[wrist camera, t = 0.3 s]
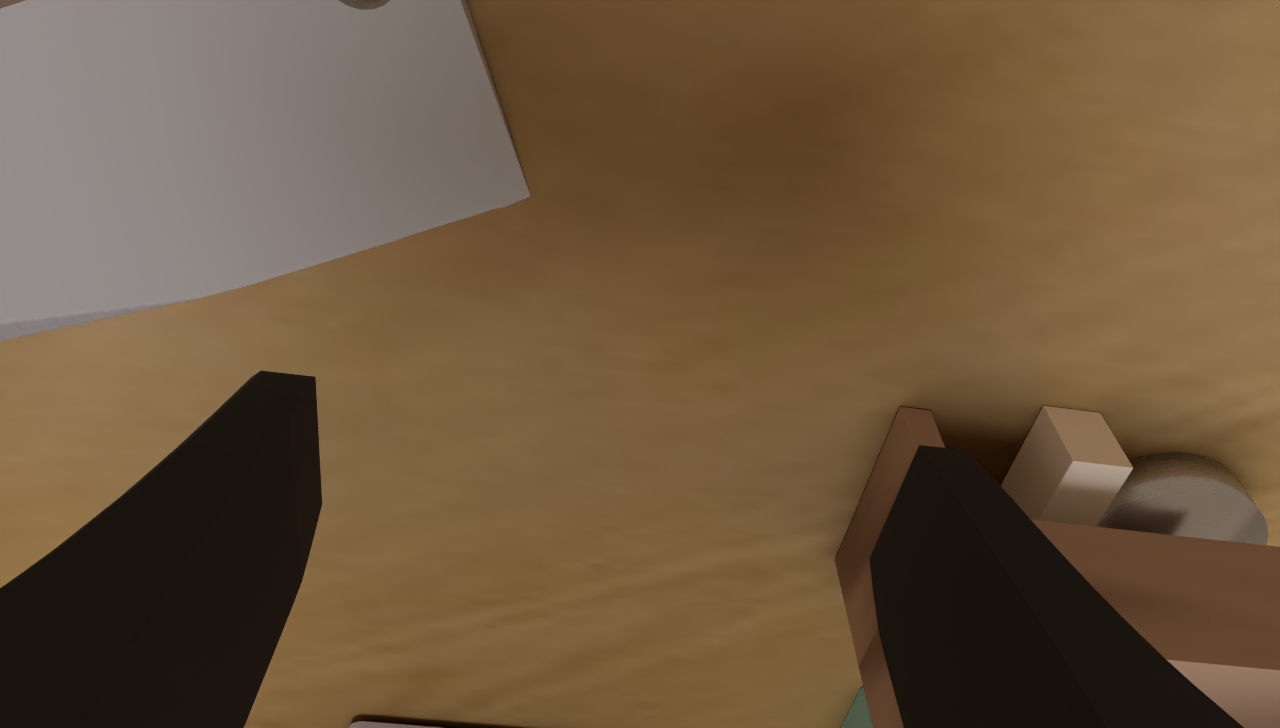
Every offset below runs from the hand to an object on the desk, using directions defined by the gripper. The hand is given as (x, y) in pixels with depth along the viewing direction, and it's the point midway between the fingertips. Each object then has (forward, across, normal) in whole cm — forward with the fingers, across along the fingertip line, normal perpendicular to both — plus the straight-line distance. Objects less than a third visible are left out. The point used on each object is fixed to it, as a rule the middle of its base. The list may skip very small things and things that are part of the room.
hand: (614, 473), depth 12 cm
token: (+10, -16, +9) cm, 21 cm away
